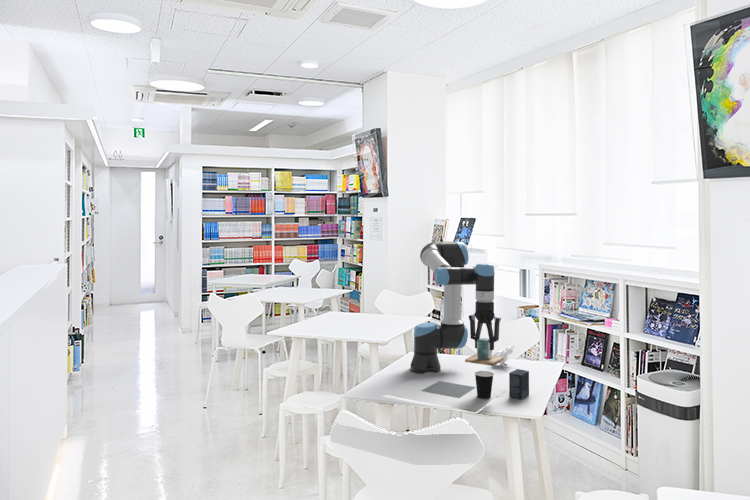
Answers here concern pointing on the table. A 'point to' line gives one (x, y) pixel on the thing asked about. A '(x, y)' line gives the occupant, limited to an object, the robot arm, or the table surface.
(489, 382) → the dixie cup
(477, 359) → the lid
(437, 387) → the mat
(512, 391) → the box
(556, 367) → the table surface
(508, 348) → the character figurine
